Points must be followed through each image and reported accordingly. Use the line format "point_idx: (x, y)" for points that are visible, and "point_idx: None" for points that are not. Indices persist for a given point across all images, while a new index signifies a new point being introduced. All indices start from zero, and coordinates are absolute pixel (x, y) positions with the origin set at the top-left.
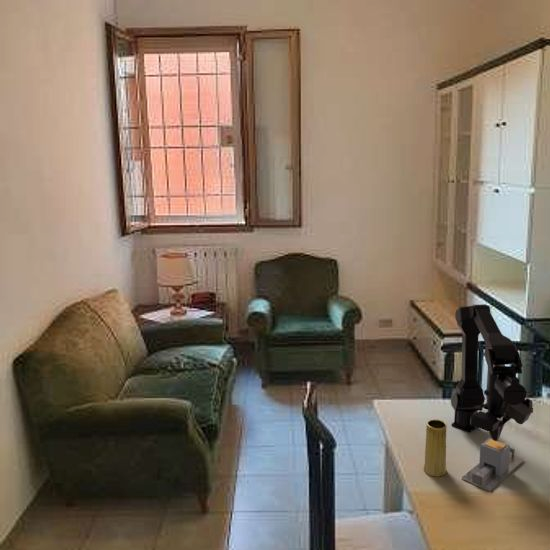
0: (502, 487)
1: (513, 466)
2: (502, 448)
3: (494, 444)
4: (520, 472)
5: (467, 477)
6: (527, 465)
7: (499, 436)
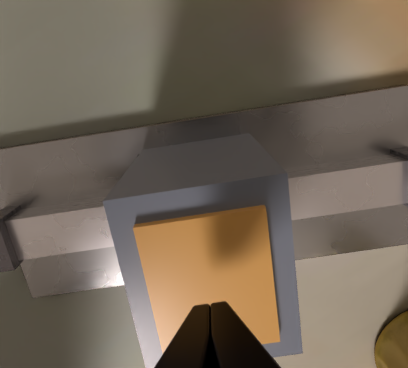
0: (315, 67)
1: (100, 145)
2: (212, 213)
3: (218, 291)
4: (103, 94)
5: (391, 226)
6: (6, 112)
7: (182, 331)
